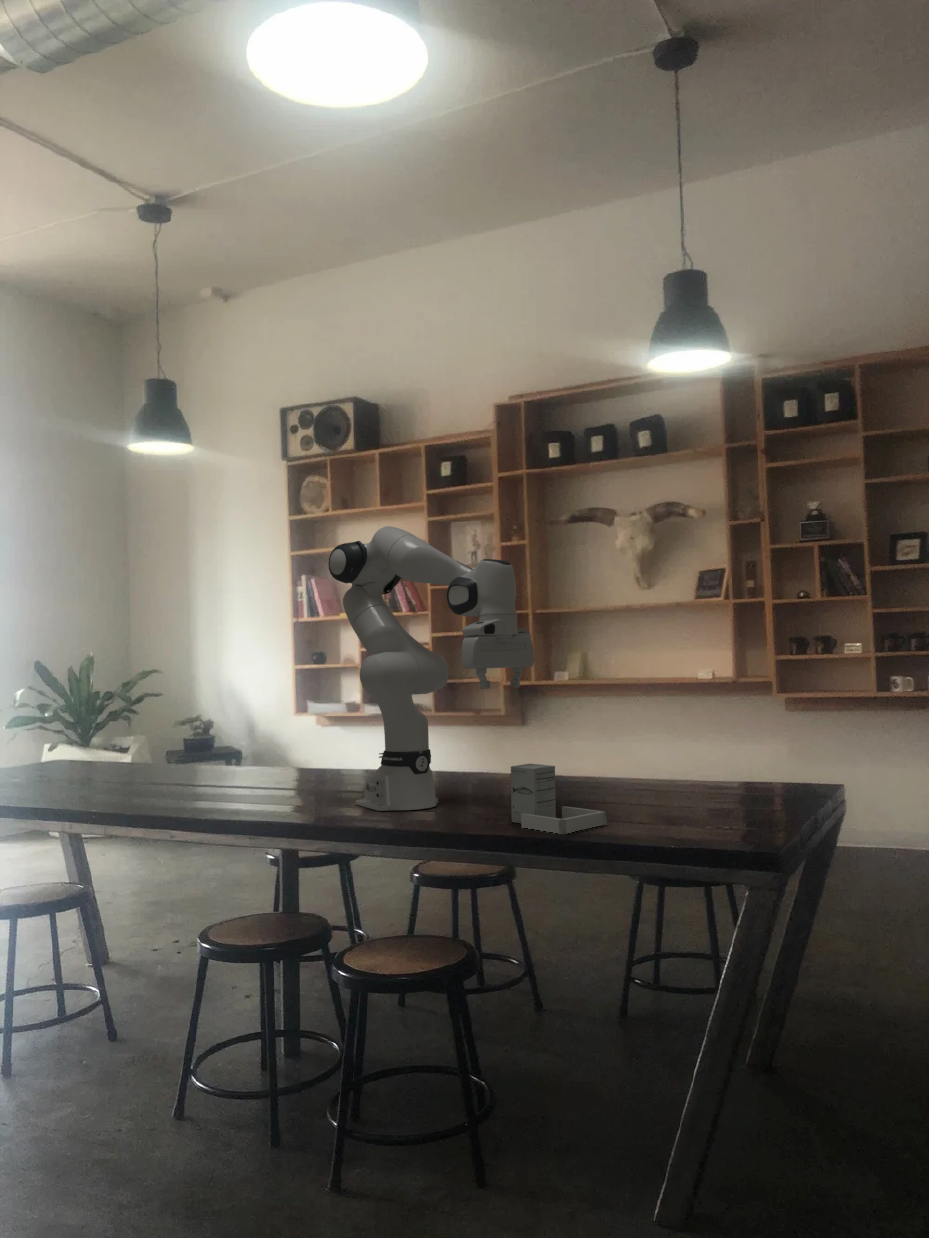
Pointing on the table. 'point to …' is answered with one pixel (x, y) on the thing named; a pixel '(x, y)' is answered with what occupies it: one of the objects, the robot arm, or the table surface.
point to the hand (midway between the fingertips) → (500, 688)
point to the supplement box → (532, 791)
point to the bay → (565, 820)
